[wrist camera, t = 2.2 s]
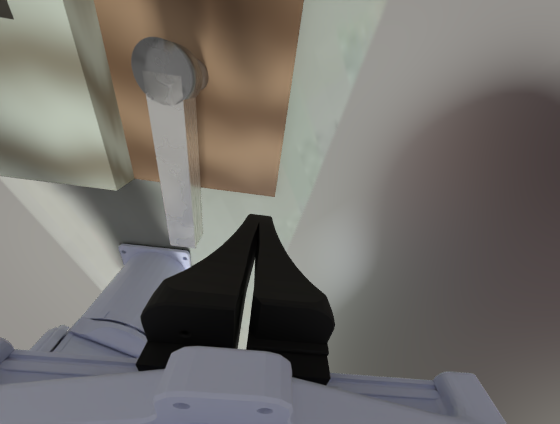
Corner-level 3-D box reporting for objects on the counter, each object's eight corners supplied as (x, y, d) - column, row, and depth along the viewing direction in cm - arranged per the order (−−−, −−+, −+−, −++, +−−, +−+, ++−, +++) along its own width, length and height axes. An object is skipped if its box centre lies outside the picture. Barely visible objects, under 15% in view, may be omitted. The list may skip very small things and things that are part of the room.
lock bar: (146, 37, 12) (125, 31, 10) (201, 47, 12) (188, 42, 11) (174, 229, 19) (164, 244, 17) (208, 233, 19) (201, 248, 18)
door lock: (274, 192, 22) (272, 231, 16) (28, 159, 20) (-68, 190, 14) (308, -40, 13) (328, -126, 8) (-111, -129, 12) (-471, -318, 6)
